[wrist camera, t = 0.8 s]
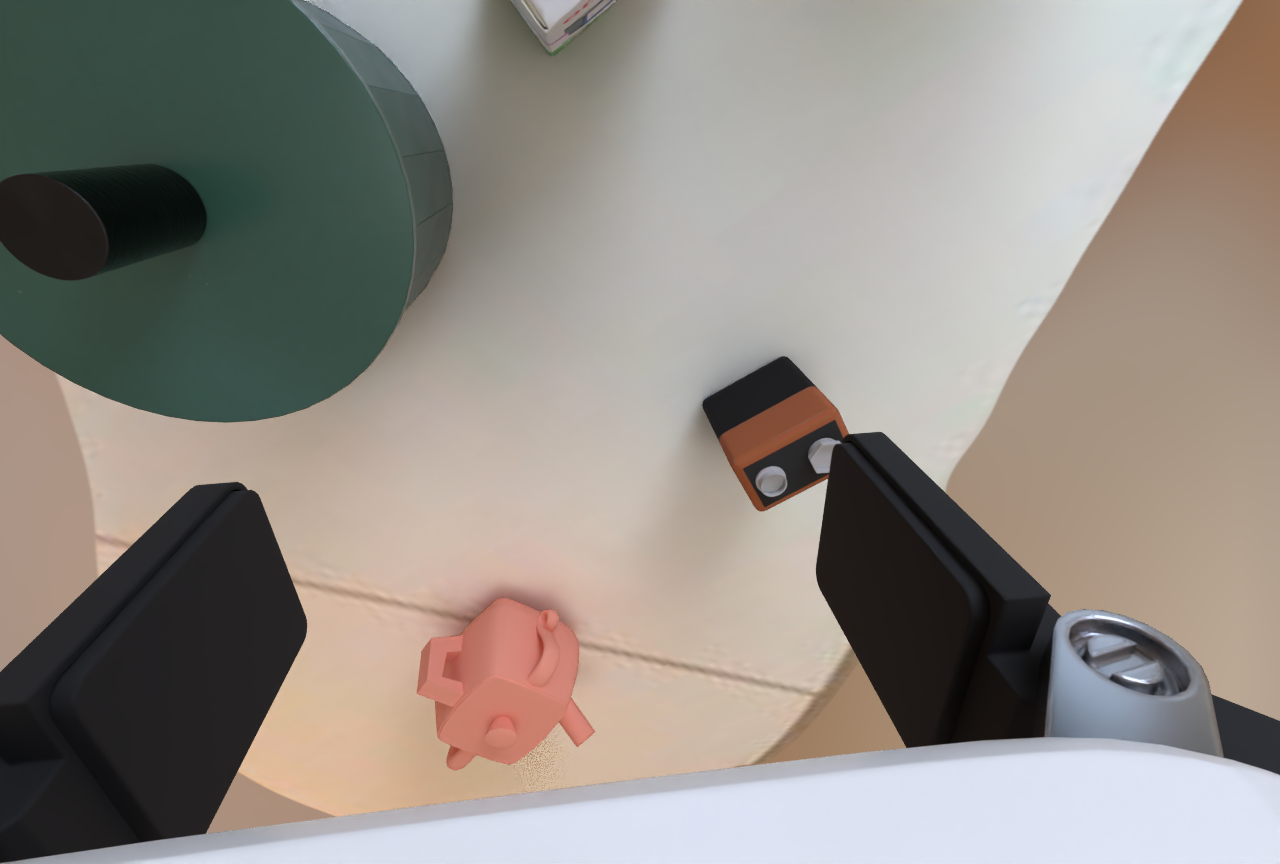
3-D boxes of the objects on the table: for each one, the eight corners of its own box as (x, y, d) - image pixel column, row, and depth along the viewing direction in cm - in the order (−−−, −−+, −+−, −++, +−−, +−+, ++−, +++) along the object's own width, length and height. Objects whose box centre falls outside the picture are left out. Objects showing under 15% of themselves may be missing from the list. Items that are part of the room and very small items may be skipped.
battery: (808, 400, 43) (870, 471, 34) (724, 445, 44) (764, 526, 35) (785, 351, 41) (845, 413, 32) (698, 399, 42) (733, 472, 33)
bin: (39, 71, 30) (-241, 41, 19) (347, -64, 29) (224, -171, 18) (254, 368, 37) (136, 458, 27) (503, 270, 36) (477, 326, 26)
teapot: (592, 673, 53) (598, 778, 45) (458, 692, 52) (437, 802, 44) (577, 573, 48) (580, 671, 39) (427, 592, 47) (396, 696, 38)
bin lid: (-247, 32, 20) (-598, -9, 14) (238, -190, 19) (83, -339, 13) (143, 464, 28) (29, 554, 22) (494, 329, 27) (474, 385, 21)
